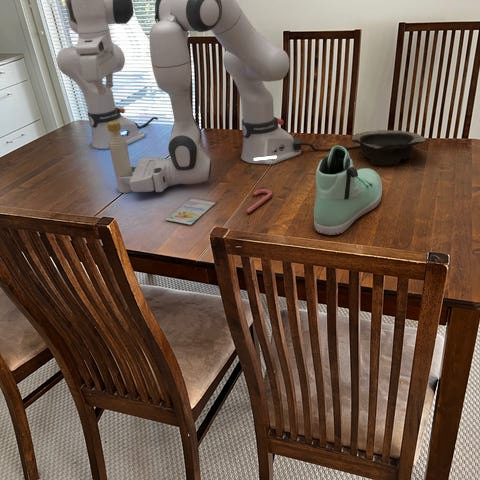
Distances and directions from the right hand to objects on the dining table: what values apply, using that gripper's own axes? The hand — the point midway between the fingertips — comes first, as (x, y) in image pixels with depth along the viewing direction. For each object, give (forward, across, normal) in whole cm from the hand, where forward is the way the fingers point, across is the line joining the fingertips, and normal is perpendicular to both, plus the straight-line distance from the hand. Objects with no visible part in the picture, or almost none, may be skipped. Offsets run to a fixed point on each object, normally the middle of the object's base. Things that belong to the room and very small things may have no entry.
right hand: (121, 175), depth 159 cm
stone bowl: (-91, -13, +5) cm, 92 cm away
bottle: (-1, 0, +5) cm, 5 cm away
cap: (-1, 0, -17) cm, 17 cm away
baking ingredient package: (-24, +19, +5) cm, 31 cm away
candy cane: (-44, +17, +5) cm, 47 cm away
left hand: (-1, 0, -28) cm, 28 cm away
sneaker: (-70, +24, +5) cm, 74 cm away
